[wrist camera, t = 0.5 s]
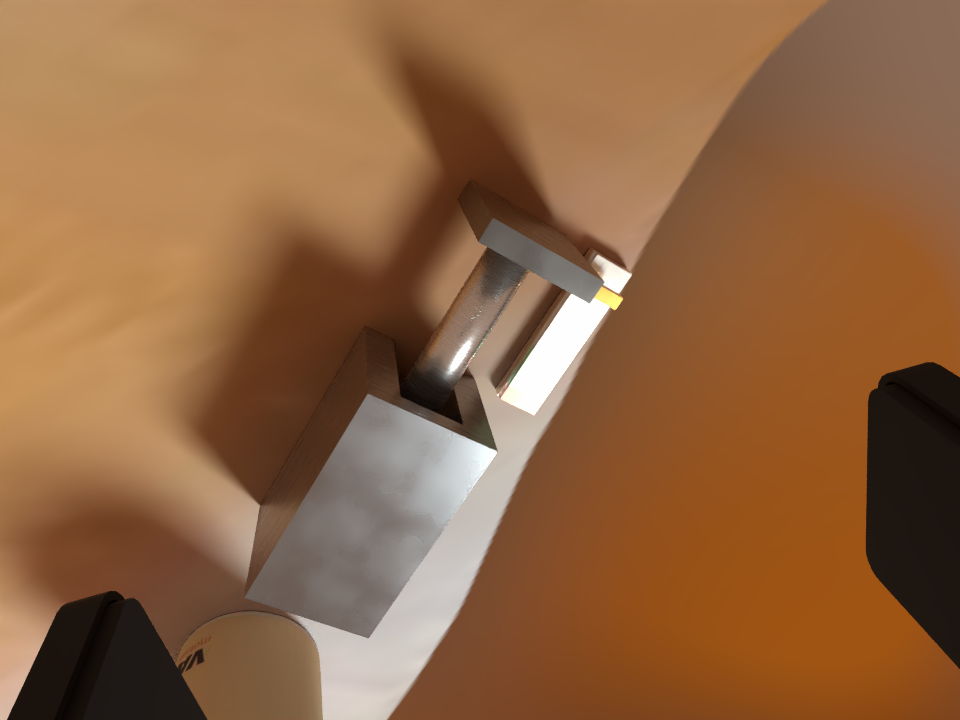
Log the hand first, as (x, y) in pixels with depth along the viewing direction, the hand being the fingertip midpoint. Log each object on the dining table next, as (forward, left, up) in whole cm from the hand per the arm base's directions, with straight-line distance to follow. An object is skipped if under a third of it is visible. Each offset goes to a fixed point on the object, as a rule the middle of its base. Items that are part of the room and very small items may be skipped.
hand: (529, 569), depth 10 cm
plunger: (+5, +7, -25) cm, 26 cm away
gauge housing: (+9, +7, -25) cm, 28 cm away
